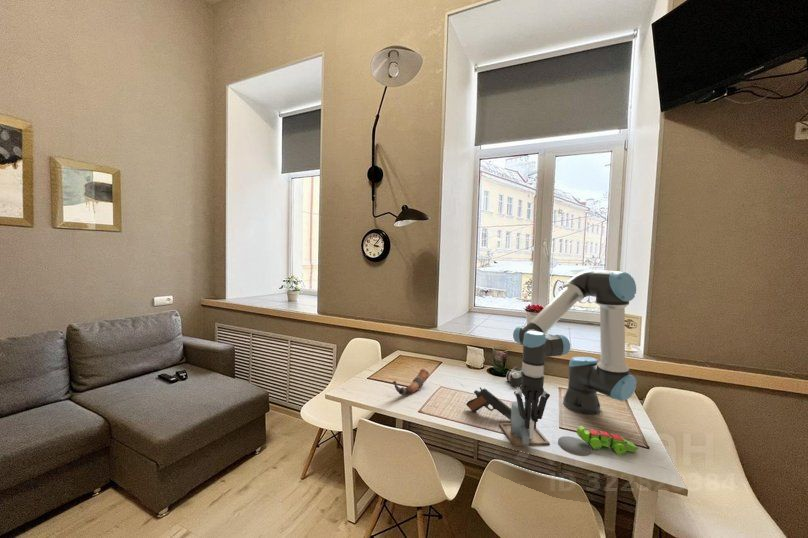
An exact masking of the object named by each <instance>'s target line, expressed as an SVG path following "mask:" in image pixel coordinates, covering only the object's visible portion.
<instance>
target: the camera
mask: <svg viewBox="0 0 808 538" xmlns="http://www.w3.org/2000/svg"><path fill="white" fill-rule="evenodd" d="M522 373H523V372H522V367H521V368H520V367H518V366H515V367H513V368H512V369H511V370H508V371H507V373H506V375H505V376H506V380H507V381H508V382H511V383H510V386H511V387H513V388H518V387H521V385H522Z"/></svg>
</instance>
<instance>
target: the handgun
mask: <svg viewBox="0 0 808 538" xmlns="http://www.w3.org/2000/svg"><path fill="white" fill-rule="evenodd" d="M479 390H480V391H479ZM479 390H477V389H476V390H474V391H473V393H474V394H475V396H476V397H474V398H473V399H470V400H469V401H467V403H466V404H465V405H466V406H467V407H468V408H469V410H471V411H472V413H476V412H477V411H479V410H481V409H482V408H486V409H487V410H489V411H490V412H493V411H494V410H496V411H497V412H498V413H500V414H501V415H503V416H504V417H506V418H507V419H508V420H510V421H511V407H509V406H508V405H507V404H506V403H504V402H503V401H502V400H500V399H499V398H498V397H496V396H495V394H492V392H491V391H489V390H488V389H486V388H482V387H479ZM489 405H490V406H491V407H492V409H491V408H490V407H489Z"/></svg>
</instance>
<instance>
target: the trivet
mask: <svg viewBox="0 0 808 538" xmlns="http://www.w3.org/2000/svg"><path fill="white" fill-rule="evenodd" d="M557 442H558V443H557V444H558V446H559V447H560V448H561V449H562V450H564V451H566V452H568V453H570V454H573V455H576V456H589V455H591V454H592V451H593V449H592V446H591V445H590V443H588V442H586V441H583V440H582V439H581V438H579V437H574V436H567V435H565V436H561V437H559V438H558V440H557Z"/></svg>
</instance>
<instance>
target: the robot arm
mask: <svg viewBox="0 0 808 538" xmlns="http://www.w3.org/2000/svg"><path fill="white" fill-rule="evenodd" d="M636 294H637V283H636V281H635V279H634V277H633V276H632V275H631V274H630V273H628V272H625V271H619V270H597V269H589V270H584V271H582V272H579V273H578V274H576V275H574V276H573V277H571V278H570V279H569V280H567V281H566V283H565V284H563V286H562V289H561V290H560V292H559V293H557V294H556V296H554V297H553V298H552V300H551V301H550V302H549V303H547V305H545V306H544V308H542V309H541V310H540V311H539V313H537V314H536V315H535V316H534V317H533V318H532V319H531V321H529V323H527V324H526V326H524V325H519V326H516V327H515V329H514V330H513V332H512V337H513V340H514V342H515V343H517V344H519V345H521V346H522V367H521V369H522V372H523V373H522V385H520V386H519V387H520V388H519V390H518V391H516V390H515V391H514V392H513V394H514V396H515V397H516V398H515V399H516V401H517V403H518V408H519V413H520V416H521V417H522V418H523V419H525V428H526V429H527V432H528V435H529V439H533V437H534V429H536V428H537V422H538V421H539V420H542V419H543V415H544V412H545V409H546V405H547V402H548V400H549V398H550V396H551V394H549V393H548V392H547V391H546V390H545V389H544V383H545V381H544V379H545V378H544V375H545V361H546V358H549V357H557V356H559V357H561V356H563V355H566V354H568V353H569V352H570V350H571V342H570V340H569V338H568V337H566V336H565V335H563V334H555V335H553V334H549V333H548V332H549V330H551V328H552V327H554V326H555V324H557V323H558V322H559V320H560V319H562V317H563V316H564V315H565V314H567V312H568V311H569V310H570V309H571V308H572V307H574V305H575V304H576V303H577V302H581V301H583V299H584V298H587V297H592V298H593V297H595V304H597V305H598V306H599V309H600V310H599V311H600V312H599V313H600V314H599V318H600V319H599V320H600V321H599V323H600V329H599V330H600V360H599V359H597V358H595V357H590V356H573V357H571V358H570V359H569V365H568V380H567V381H568V383H567V385H568V386H567V389H566V391H565V394H564V396H563V400H562V401H563V402H562V403H563V405H564V406H565V407H566V408H567V409H569V410H571V411H575V412H577V413H581V414H586V415H597V414H599V413H600V412H601V404H600V401H599V397H598V393H599V394H602V395H605V396H606V397H609V398H611V399H615V400H617V401H620V402H624V401H627V400H629V399H630V398H631V397H632V396H633V395H634V394H635V391H636V389H637V388H636V387H637V379H636V377H635V376H634V375H632V374H630V367H629V366H628V365H627V364H626V345H625V344H626V341H625V339H626V334H625V333H626V332H625V331H626V329H625V328H626V327H625V326H626V325H625V323H626V322H625V321H626V320H625V319H626V318H625V316H626V313H625V309H626V307H628V306H629V305H630V301H633V300H634V299H635V296H636ZM523 396H524V400H523V398H522V397H523ZM523 402H525V411H524V406H523ZM531 417H532V418H531Z"/></svg>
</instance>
